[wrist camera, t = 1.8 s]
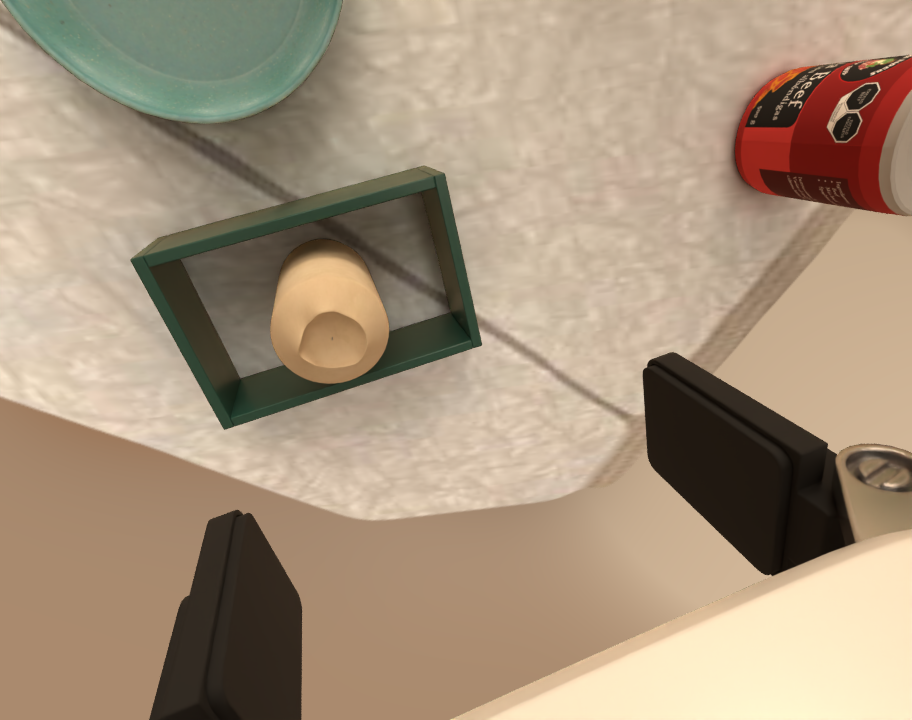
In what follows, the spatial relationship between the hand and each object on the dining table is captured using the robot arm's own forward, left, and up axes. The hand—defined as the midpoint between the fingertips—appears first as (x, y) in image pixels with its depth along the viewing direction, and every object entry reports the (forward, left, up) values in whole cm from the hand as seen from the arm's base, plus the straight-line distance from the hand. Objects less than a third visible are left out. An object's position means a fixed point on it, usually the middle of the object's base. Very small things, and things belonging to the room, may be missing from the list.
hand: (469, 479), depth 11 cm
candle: (+1, -3, -23) cm, 23 cm away
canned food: (0, +30, -23) cm, 38 cm away
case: (+1, -3, -23) cm, 23 cm away
